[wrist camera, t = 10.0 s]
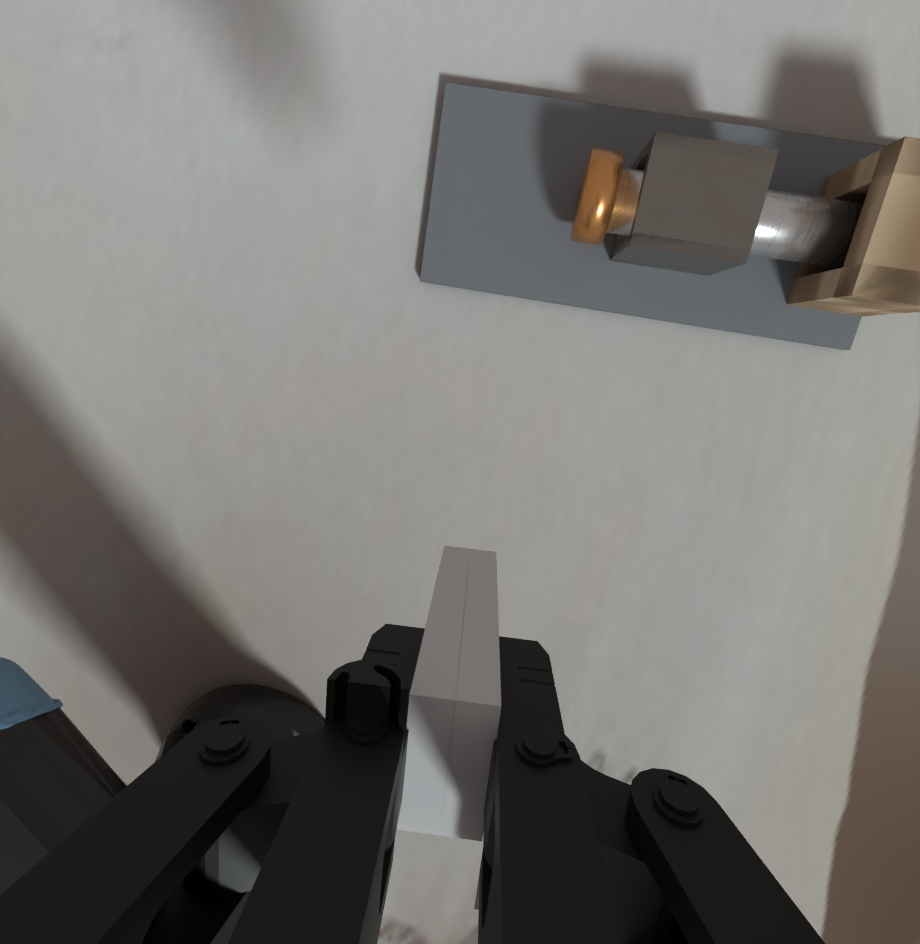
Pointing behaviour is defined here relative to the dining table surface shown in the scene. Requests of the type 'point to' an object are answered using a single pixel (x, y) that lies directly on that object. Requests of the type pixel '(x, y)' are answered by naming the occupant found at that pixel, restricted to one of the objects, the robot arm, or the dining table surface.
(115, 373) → the dining table surface
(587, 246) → the base mat
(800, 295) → the socket block
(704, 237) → the sleeve
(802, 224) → the sliding bolt
